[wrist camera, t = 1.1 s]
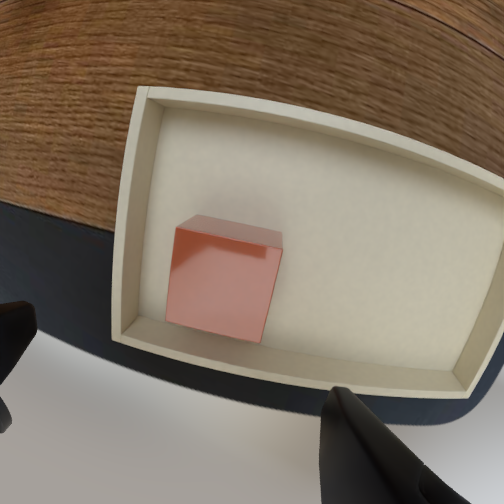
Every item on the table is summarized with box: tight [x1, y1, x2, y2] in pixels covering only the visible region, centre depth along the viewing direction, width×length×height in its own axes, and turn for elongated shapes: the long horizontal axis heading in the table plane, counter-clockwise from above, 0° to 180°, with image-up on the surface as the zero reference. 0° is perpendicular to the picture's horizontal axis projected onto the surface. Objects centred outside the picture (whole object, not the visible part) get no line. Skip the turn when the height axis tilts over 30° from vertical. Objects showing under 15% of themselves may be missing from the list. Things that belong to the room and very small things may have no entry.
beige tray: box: [112, 86, 504, 398], centre depth 15 cm, size 22×13×3 cm, turn 79°
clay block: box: [165, 214, 283, 343], centre depth 15 cm, size 4×4×4 cm
